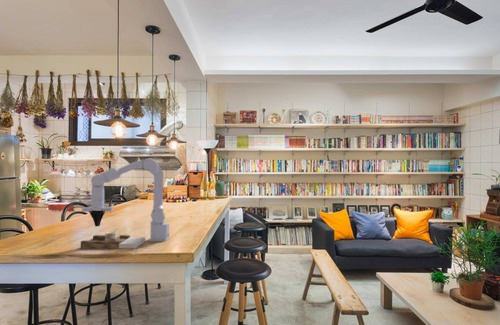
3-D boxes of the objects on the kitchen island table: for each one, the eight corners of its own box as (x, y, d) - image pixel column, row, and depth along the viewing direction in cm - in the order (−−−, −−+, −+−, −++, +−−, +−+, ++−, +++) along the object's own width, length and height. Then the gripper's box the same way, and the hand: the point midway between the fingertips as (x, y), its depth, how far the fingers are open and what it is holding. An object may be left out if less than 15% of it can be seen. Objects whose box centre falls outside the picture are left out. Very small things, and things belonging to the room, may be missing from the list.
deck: (145, 241, 148) (145, 235, 148) (135, 248, 135) (135, 241, 135) (94, 241, 147) (95, 235, 147) (80, 248, 134) (80, 241, 134)
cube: (119, 239, 144) (119, 231, 144) (115, 241, 139) (115, 233, 139) (109, 239, 143) (109, 231, 144) (105, 241, 138) (105, 233, 139)
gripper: (78, 199, 137) (78, 227, 137) (108, 199, 137) (108, 227, 137) (86, 198, 144) (86, 224, 144) (115, 198, 144) (114, 224, 144)
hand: (97, 226), depth 141 cm, fingers closed
